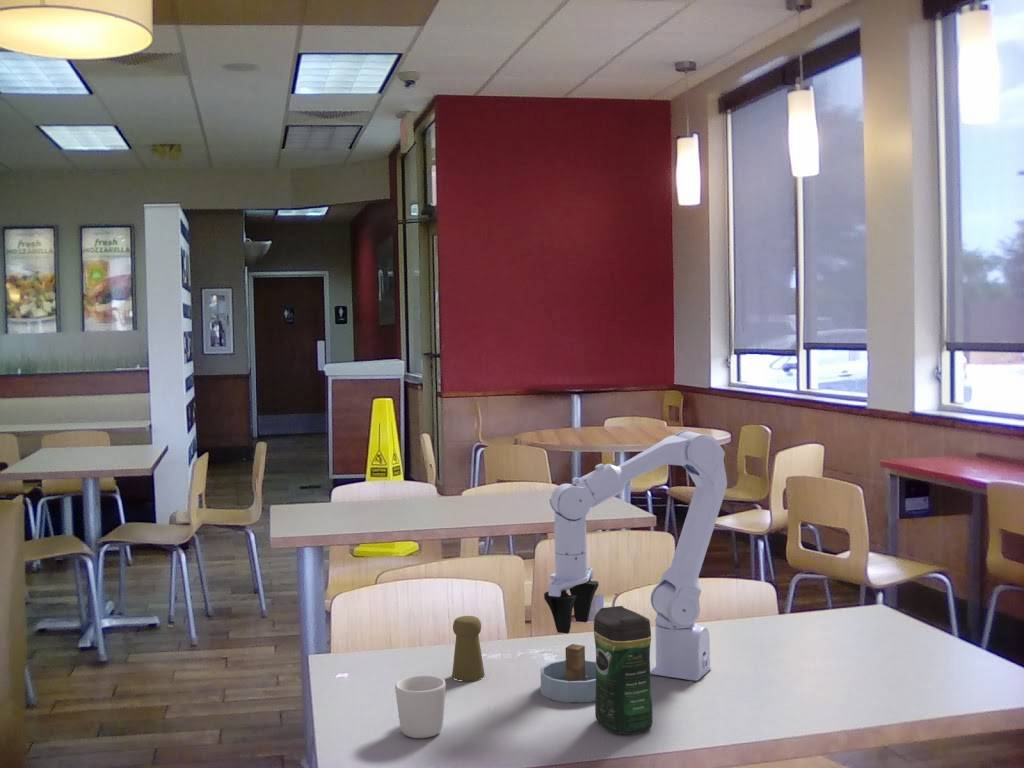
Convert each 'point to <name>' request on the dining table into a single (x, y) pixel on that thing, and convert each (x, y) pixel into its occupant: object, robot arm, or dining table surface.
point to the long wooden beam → (575, 663)
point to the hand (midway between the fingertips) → (572, 627)
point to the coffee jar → (623, 670)
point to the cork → (467, 649)
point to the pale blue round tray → (568, 683)
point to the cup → (421, 705)
